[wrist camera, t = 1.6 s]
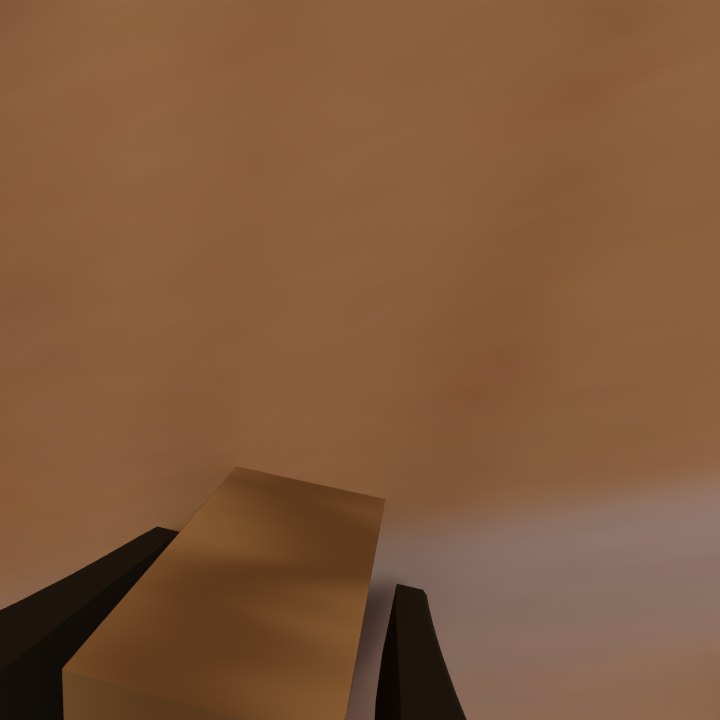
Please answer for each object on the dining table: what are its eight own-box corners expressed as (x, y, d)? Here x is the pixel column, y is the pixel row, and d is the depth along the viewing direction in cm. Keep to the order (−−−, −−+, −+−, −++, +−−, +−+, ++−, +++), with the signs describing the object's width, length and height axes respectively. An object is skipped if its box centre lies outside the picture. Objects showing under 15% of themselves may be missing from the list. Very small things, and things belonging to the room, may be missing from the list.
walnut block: (385, 498, 12) (338, 751, 6) (361, 622, 13) (303, 937, 7) (237, 466, 12) (59, 672, 6) (226, 589, 13) (66, 859, 7)
